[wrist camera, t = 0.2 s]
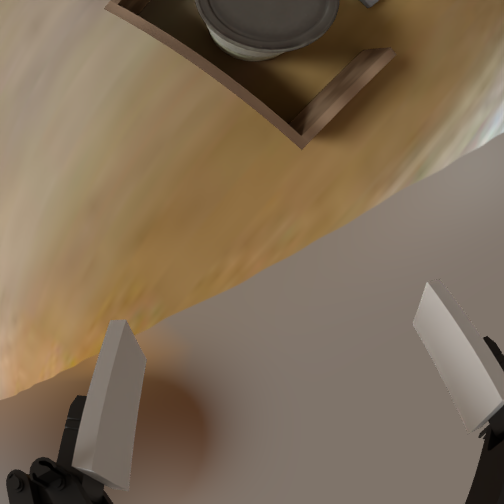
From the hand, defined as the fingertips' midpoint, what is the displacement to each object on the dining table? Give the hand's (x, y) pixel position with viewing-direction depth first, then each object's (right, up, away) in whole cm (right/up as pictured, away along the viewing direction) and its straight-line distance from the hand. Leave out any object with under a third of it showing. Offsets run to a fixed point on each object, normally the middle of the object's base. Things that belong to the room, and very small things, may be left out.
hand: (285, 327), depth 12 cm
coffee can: (-1, +29, +14) cm, 32 cm away
